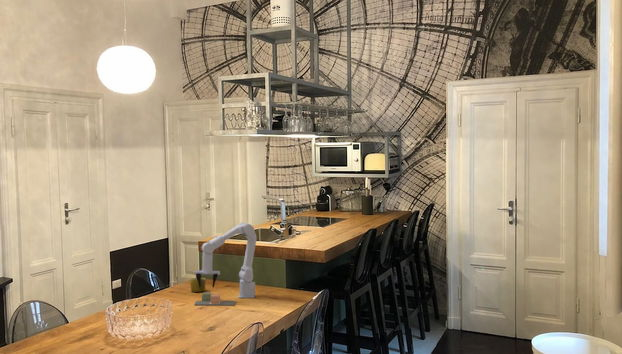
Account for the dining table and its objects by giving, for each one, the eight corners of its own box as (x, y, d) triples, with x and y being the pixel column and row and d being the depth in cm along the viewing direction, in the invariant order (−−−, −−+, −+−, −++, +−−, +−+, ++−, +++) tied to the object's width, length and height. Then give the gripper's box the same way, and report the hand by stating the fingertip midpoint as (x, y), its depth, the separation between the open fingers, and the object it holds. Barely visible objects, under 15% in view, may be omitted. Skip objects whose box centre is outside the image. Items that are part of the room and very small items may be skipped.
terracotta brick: (219, 301, 290) (219, 294, 290) (218, 303, 286) (219, 296, 286) (211, 301, 290) (211, 294, 290) (210, 303, 285) (210, 296, 285)
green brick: (210, 299, 298) (211, 292, 298) (209, 301, 293) (210, 294, 293) (203, 299, 298) (203, 292, 298) (201, 301, 293) (202, 294, 293)
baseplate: (235, 302, 293) (235, 300, 293) (234, 305, 285) (234, 304, 285) (196, 301, 291) (196, 300, 291) (194, 305, 283) (194, 304, 283)
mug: (206, 290, 310) (202, 274, 312) (190, 295, 310) (186, 279, 312) (211, 290, 322) (207, 274, 324) (196, 294, 322) (192, 279, 324)
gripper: (193, 264, 291) (192, 288, 291) (219, 265, 292) (218, 288, 292) (195, 262, 298) (194, 285, 298) (220, 262, 299) (219, 285, 299)
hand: (206, 286), depth 295 cm, fingers open, 7 cm apart
